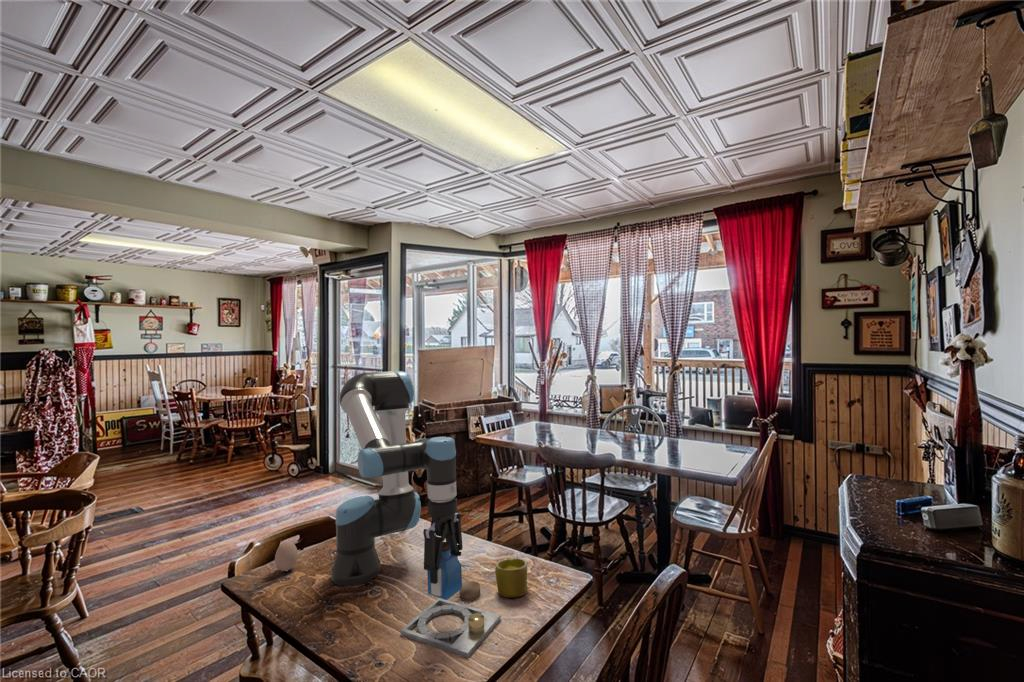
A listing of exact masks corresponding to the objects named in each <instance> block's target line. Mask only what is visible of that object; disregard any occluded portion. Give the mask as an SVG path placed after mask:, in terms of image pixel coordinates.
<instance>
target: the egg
mask: <svg viewBox="0 0 1024 682" xmlns="http://www.w3.org/2000/svg"><path fill="white" fill-rule="evenodd" d="M298 559H299V551H298V548H297V546H296V544H294V542H292V541H290V540H285V541H283V542H281V543H280V544H279V546H278V548H276V552H275V555H274V565H275V567H276V568H277V569H278V570H279V571H280V570H281V571H280V572H283V571H286V570H289V569H291V568H292V569H294V567H295V566H296V564H297V563H298ZM292 569H291V570H292Z"/></svg>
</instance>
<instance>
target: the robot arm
mask: <svg viewBox="0 0 1024 682" xmlns="http://www.w3.org/2000/svg"><path fill="white" fill-rule="evenodd" d="M339 392H340V393H339V404H340V407H341V409H342V412H344V413H345V414H346V415H347V416H348V419H349V421H350V423H351V426H352V428H353V431H354V433H355V436H356V439H357V441H358V444H359V446H360V448H361V450H360V451H359V452H358V453H357V454H358V455H357V467H358V472H359V475H360V477H362V478H364V479H367V478H368V479H369V478H379V477H382V487H381V489H379V491H378V498H377V499H374V498H373V496H371V495H361V496H360V495H359V496H356V497H353V498H350V499H348V500H345V501H344V502H342V503H341V504H340V505H338V507H337V509H336V512H335V513H336V515H335V530H336V531H335V533H336V535H335V537H336V540H335V541H336V554H335V557H334V561H333V566H332V568H331V571H330V580H331V582H332V581H333V582H334V583H333V582H332V583H333V584H335V583H336V584H335V585H337V584H339V585H338V586H341V585H344V586H343V587H349V586H348V585H352V586H357V585H361V584H364V583H367V582H370V581H371V580H373V578H374V579H375V578H376V577H378V575H379V574H380V573H381V570H382V566H381V565H382V564H381V559H380V558H379V554H378V551H377V549H376V545H375V541H376V540H375V539H376V538H378V537H383V536H388V535H391V534H395V533H399V532H405V531H408V530H410V529H413V528H415V527H416V526H417V525H418V523H419V521H420V518H421V509H422V505H421V504H422V503H421V500H420V499H421V497H420V495H419V494H418V492H416V491H414V487H413V486H412V485H411V484H410V483H409V482H410V481H409V472H412V471H417V470H418V471H419V470H422V469H423V470H424V469H425V470H426V476H427V477H426V478H427V480H426V482H427V483H426V485H427V486H426V488H427V489H426V490H427V494H426V495H427V498H428V500H427V513H428V516H430V518H431V522H430V526H429V528H424V529H423V537H424V543H423V544H424V547H423V570H424V571H427V570H428V571H430V582H431V594H433V595H436V596H441V595H442V582H441V569H440V568H439V564H440V557H441V551H442V544H443V542H449V543H450V548H451V553H450V555H454V556H456V558H457V559H458V558H459V557H461V555H462V552H461V551H462V550H463V534H462V523H461V521H462V514H461V513H458V498H457V497H456V496H457V495H458V494H457V450H456V441H455V439H454V438H453V437H450V436H435V437H431V438H418V439H416V440H414V441H412V442H407V429H406V413H407V412H408V410H409V409H410V407H409V405H410V404H412V403H413V402H414V400H415V390H414V385H413V381H412V379H411V377H410V375H409V374H408V373H407V372H406V371H403V370H402V371H401V370H391V371H378V372H377V371H375V372H374V371H373V372H361V373H358V374H355V375H353V376H352V377H351V378H350V379H348V380H347V381H345V382H344V385H343V386H342V387H341V390H340V391H339ZM458 560H459V559H458ZM433 595H432V596H433Z"/></svg>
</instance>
